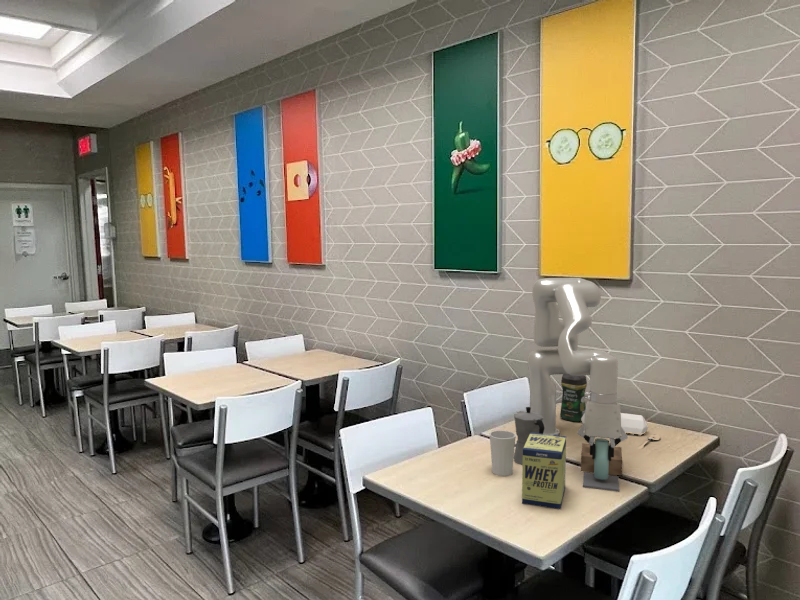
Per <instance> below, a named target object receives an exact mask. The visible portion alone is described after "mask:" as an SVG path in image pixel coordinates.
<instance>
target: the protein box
mask: <svg viewBox="0 0 800 600" xmlns="http://www.w3.org/2000/svg"><path fill="white" fill-rule="evenodd" d="M566 458H567V436H565V435H560V434H559V435H550V434H541V433H532V432H531V433H530V435H529V437H528V439H527V441H526V443H525V446H524V448H523V465H522V469H521V470H522V474H521V475H522V476H521V478H522V481H521V486H522V489H521V504H523V505H530V506H531V505H532V506H537V507H545V508H550V509H557V510H561V508H562V503H563V499H564V494H565V489H566V474H567V472H566V469H567V468H566V466H567V465H566V464H567V462H566V460H567V459H566Z"/></svg>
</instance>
